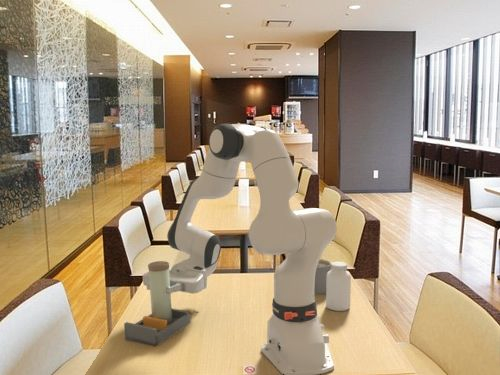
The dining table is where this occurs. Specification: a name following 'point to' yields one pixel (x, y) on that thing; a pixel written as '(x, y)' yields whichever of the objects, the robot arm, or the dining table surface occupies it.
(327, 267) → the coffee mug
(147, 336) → the gray open tray
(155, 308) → the jar
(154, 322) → the block
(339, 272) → the pill bottle
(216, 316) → the dining table surface
